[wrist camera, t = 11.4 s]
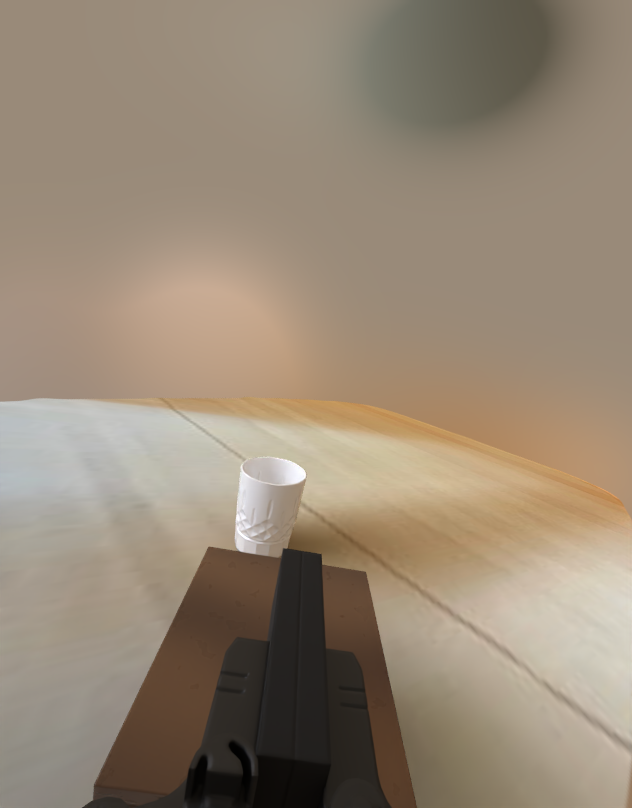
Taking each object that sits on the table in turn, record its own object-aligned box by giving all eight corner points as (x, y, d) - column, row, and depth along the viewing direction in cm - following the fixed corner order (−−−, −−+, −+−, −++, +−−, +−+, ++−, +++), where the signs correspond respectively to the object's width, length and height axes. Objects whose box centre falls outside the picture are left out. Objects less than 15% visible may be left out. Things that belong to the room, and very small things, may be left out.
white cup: (301, 538, 46) (315, 468, 44) (276, 573, 39) (291, 492, 37) (249, 518, 48) (260, 451, 46) (216, 548, 41) (227, 470, 39)
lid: (207, 555, 27) (208, 546, 27) (363, 580, 27) (366, 571, 27) (92, 801, 13) (93, 785, 13) (416, 841, 13) (421, 827, 13)
